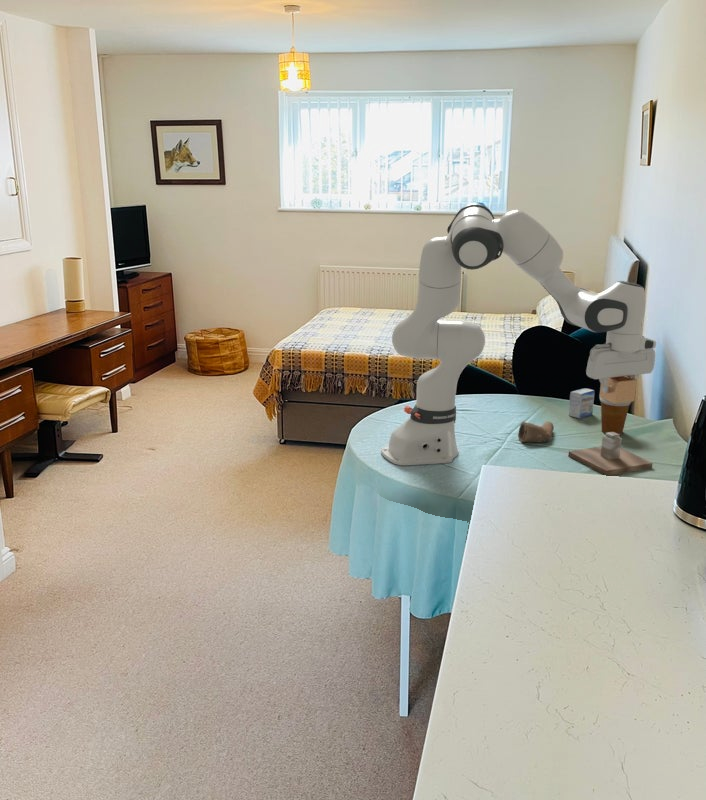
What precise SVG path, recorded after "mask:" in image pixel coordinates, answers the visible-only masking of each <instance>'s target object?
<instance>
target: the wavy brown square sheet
mask: <svg viewBox="0 0 706 800" xmlns="http://www.w3.org/2000/svg"><path fill="white" fill-rule="evenodd" d="M622 439H623V438H622V437H620V434H617V433H615V432H608V433H605V435H602V440H601V446H596V447H595V446H594V447H589V448H582V449H575V450H569V451H568V454H567V455H568V457H569V458H571V459H573V460H574V461H577V462H578V463H581V464H582V465H585V466H586V467H589V468H591V469H592V470H595V472H598V473H599V474H601V475H604V476H605V475H608V476H613V475H619V474H624V473H629V472H630V473H631V472H637V471H642V470H648V469H652V468H653V462H652V461H650V460H648V459H646V458H644V457H643V458H642V457H641V456H638V455H637V454H635V453H631V452H630V451H628V450H626V449H623V448H621V447H622Z"/></svg>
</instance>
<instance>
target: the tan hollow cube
mask: <svg viewBox="0 0 706 800" xmlns="http://www.w3.org/2000/svg"><path fill="white" fill-rule="evenodd" d="M637 381H638V380H636V379H633V378H631V377H630V376H621V377H612V378H609V381H608V382H607V384H608V386H609V387H611V390H610V393H603V392H602V385H601V384H600V387H599V395H598V396H599V397H598V398H599V399H600V398H603V399H605V400H608V401H610V402H612V403H615V404H616V403H624V402H631V403H632V402H635V398H636V390H637V383H638V382H637Z"/></svg>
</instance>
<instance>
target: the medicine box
mask: <svg viewBox="0 0 706 800" xmlns="http://www.w3.org/2000/svg"><path fill="white" fill-rule="evenodd" d="M594 401H595V390H594V389H591V388H585V387H584V388H580V389H576V390H572V391H570V394H569V404H568V405H569V406H568V416H569V417H571V418H575V419H583V418H585V417H588V416H591V415H593V411H594Z"/></svg>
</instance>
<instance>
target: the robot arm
mask: <svg viewBox="0 0 706 800" xmlns="http://www.w3.org/2000/svg"><path fill="white" fill-rule="evenodd" d="M446 230H447V231H446V232H447V235H444V236H438V237H433V238H431V239H428V241H426V242H425V244H424V245H423V247H422V249H421V253H420V254H421V255H420V260H419V267H418V268H419V269H418V293H417V294H418V295H417V301H416V305H415V307H414V309H413V311H412V312H411V313H410V314H409V315H408V316H407V317H405V318H404V319H403V320H401V321H400V322H398V323H397V325H396V326H395V327H394V329H393V331H392V335H391V342H392V347H393V349H394V350H395V352H396V353H397V354H398V355H399V356H403V357H406V358H412V359H416V360H417V359H420V360H437V361H440V363H439V364H438V365H437V366H436V367H435V368H432V369H430V370H427V371H426V372H424V373H422V374H421V375H420V376H418V379H417V381H416V401H415V402H416V403H415V404H414V406H413V408H412V407H410V406H409V405H406V406H404V408H403V411H404V412H405V413H406V414H407V415H410V418H408V419H407V420H406V421H404V422H403V423H402V424H401V425H399V427H397V428H395V429H394V430H393V431H392V432H391V434H390V437H389V442H388V443H389V444H388V445H386V446H383V447H381V451H380V452H381V455H382V456H383V458H384V459H386V460H387V461H389V462H391V463H392V464H395V465H399V466H417V465H435V464H451V463H452V462H453V459H454V458H456V457H457V456H458V455H459V451H458V450H459V449H458V446H457V439H456V430H455V429H456V428H455V424H456V420H457V419H456V418H457V405H456V394H457V387H458V381H459V378H460V375H461V374H462V372H463V370H464V369H465V368H466V367H467V366H468V365H469V363H471V362H472V361H474V360H476V359H477V358H478V357H479V356H480V355H481V354H482V352H483V350H484V348H485V346H486V345H485V343H486V338H485V337H486V336H485V334H484V333H485V332H484V331H483V329H482V328H481V326H480V325H479V324H477V323H472V322H468V321H463V320H443V319H442V318H444V317H446V316H448V315H450V314H452V313H453V312H454V311H455V310H456V309H457V308H458V307H459V304H460V303H461V302H460V301H461V281H462V268H463V269H466V270H478V269H482V268H483V267H485V266H487V265H489V264H490V263H491V262H493V261H496V260H498V259H499V258H500V257H502V254H504V255H507V257H509V258H510V260H512V262H513V263H514V264H516V265H517V267H518V268H519V269H521V270H522V271H523V272H524V273H526V274H527V276H530V277H531V278H532V279H534V280H536V282H538V283H539V284H540V285H541V286H542V287H543V288H544V289H545V291H547V292H548V294H549V295H551V297H552V298H553V299H554V300H555V302H556V304H557V305H558V309H559V310H560V314H561V316H562V317H563V320H564V321H565V322H566V323H567V324H570V325H571V326H576V327H579V328H583V329H585V330H588V331H590V332H593V333H606V338H605V340H606V341H605V343H603V344H599V343H598V344H595V345H594V346H593V347H592V348H591V349H590V351H589V356H588V360H587V366H586V369H585V372H586V373H585V374H586V376H587V377H588V378H590V379H593V380H598V381H599V383H600V386H601V385H602V392H603V393H610V390H611V387H609V386H608V384H607V382H608V381H609V378H612V377H621V376H627V377H630V378H633V379H636V380H637V381H638V380H639V379H640V378H639V377H640V375H646V374H651V373H652V372H653V371H654V369H655V361H656V351H655V348H656V346H657V342H656V340H654V339H651V338H649V337H648V338H647V337H645V336H644V335H642V334H643V328H642V325H643V324H642V323H643V320H644V318H645V312H646V291H645V288H644V287H643V286H642V285H641V284H638V283H634V282H630V281H625V280H624V281H623V280H617V281H615V283H613V285H611V286H610V287H609V288H607V289H605V290H603V291H601V292H599V293H595V292H591V291H589V290H587V289H585V288H581V287H579V286H577V285H575V284H574V283H573V281H571V279H570V278H569V277H568V276H567V275H566V274H565V273H564V272H563V271H562V269H561V267H560V266H561V265H562V262H563V258H564V251H563V248H562V247H561V246H560V244H559V242H558V240H557V239H556V238H555V237H554V236H553V235H552V234H551V233H550V232H549V231H548V230H547V229H546V227H544V225H542V224H541V223H540V222H539V221H537V220H536V219H535V218H534V217H532V216H531V215H529V214H528V213H526V212H525V211H524V210H520V209H512V210H510V211H507V212H506V213H504V214H503V215H502V216H501V217H499V218H495V216H494V215H493V212H492V211H491V209H489V208H488V207H487V206H486V205H484V204H482V203H479V202H471V203H468V204H465V205H464V206H462V207H461V208H460V209H459V210H458V211H457V213H456V214H455V216H454V218H453V219H452V221H451V222H450V224H449V226H448V227H447V229H446ZM441 319H442V320H441Z"/></svg>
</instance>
